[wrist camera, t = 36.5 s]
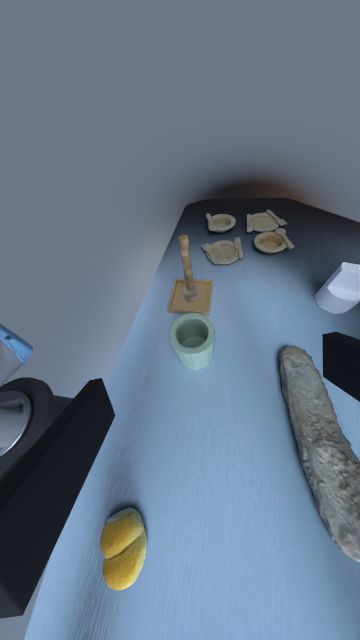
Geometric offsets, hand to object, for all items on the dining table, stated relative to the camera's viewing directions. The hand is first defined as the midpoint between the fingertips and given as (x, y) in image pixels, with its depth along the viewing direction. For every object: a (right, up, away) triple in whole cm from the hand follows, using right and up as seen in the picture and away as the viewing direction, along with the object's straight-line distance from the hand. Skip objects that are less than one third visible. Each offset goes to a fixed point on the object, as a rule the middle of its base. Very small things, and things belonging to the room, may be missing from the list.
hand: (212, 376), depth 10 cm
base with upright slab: (+43, +9, +40) cm, 60 cm away
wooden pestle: (+2, +11, +47) cm, 49 cm away
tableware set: (+24, +37, +60) cm, 74 cm away
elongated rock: (+26, -19, +26) cm, 42 cm away
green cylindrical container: (+2, -6, +38) cm, 39 cm away
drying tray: (+2, +11, +48) cm, 49 cm away
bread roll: (-12, -38, +22) cm, 45 cm away
